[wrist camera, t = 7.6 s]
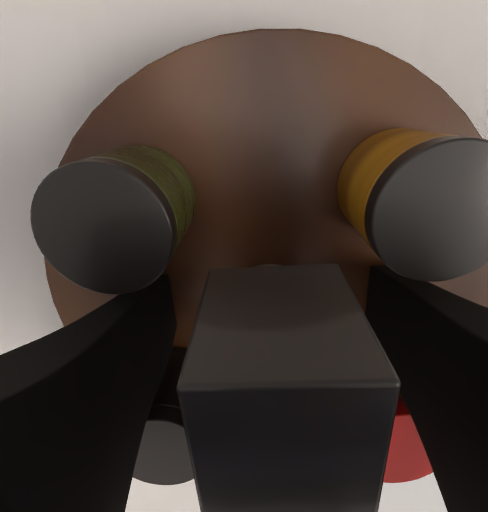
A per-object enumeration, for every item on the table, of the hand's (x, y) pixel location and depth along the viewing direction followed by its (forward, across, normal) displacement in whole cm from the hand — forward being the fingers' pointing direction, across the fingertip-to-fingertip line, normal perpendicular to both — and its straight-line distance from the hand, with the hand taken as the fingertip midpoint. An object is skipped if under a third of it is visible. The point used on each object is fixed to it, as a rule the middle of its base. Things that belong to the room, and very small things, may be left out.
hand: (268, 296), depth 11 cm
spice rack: (+2, 0, 0) cm, 2 cm away
